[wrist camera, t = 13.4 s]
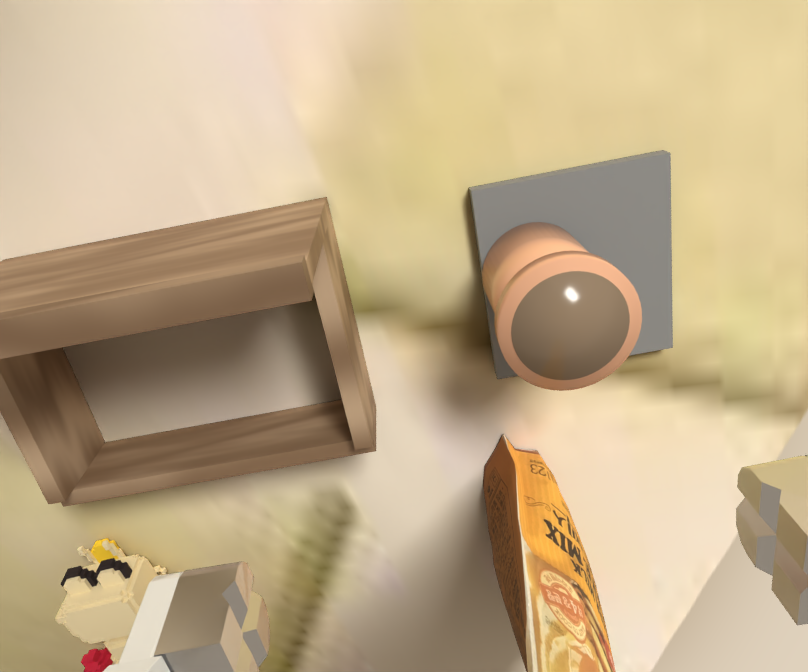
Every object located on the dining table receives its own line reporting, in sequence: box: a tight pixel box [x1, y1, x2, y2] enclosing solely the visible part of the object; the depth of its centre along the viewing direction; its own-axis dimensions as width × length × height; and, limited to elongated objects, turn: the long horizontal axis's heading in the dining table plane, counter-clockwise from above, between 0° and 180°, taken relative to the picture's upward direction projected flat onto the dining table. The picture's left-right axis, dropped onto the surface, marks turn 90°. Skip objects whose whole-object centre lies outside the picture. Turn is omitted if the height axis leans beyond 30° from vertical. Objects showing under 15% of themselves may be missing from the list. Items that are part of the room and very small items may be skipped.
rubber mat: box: [469, 150, 673, 379], centre depth 39 cm, size 12×11×1 cm
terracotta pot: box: [482, 222, 642, 390], centre depth 34 cm, size 7×7×8 cm
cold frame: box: [0, 197, 376, 507], centre depth 34 cm, size 14×19×13 cm
